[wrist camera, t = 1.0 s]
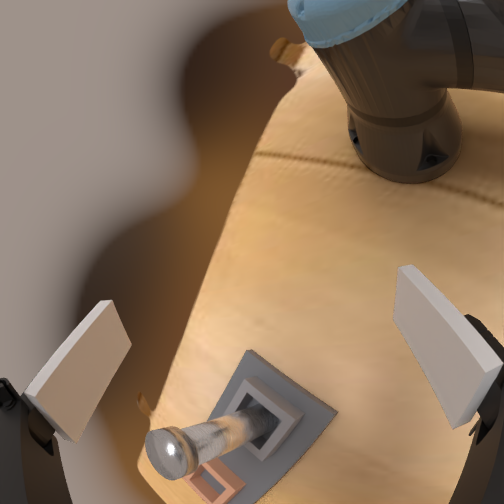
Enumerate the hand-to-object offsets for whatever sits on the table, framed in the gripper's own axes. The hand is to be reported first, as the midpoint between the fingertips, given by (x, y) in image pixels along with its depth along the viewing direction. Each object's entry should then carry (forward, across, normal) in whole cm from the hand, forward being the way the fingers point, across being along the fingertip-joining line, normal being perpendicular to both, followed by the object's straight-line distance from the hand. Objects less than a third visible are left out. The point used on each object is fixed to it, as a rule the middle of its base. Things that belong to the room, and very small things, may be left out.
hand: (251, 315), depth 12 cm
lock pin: (+11, -3, -23) cm, 26 cm away
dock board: (+9, -6, -30) cm, 32 cm away
